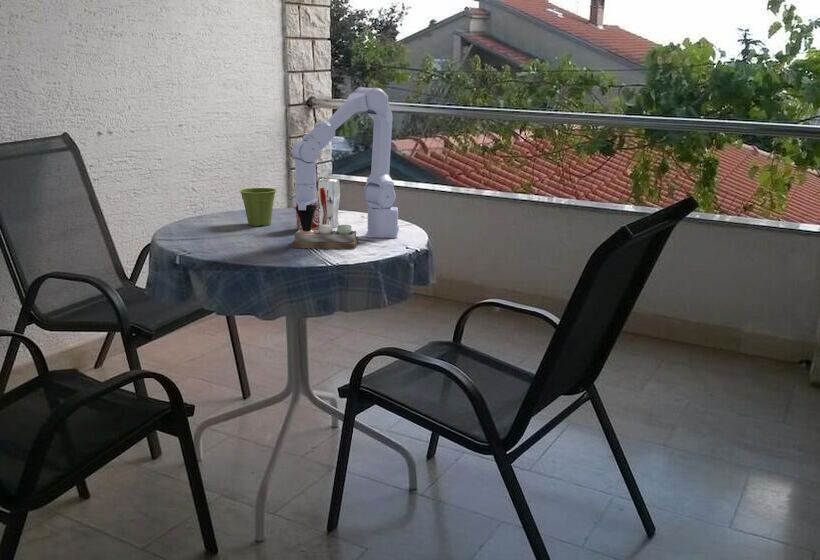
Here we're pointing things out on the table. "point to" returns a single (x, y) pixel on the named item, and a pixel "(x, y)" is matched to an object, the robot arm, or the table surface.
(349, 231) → the button sage
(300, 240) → the button board
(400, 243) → the table surface
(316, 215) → the soda can
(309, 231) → the button terracotta
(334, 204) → the beer glass
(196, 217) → the table surface
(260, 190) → the plant pot
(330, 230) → the button ivory
